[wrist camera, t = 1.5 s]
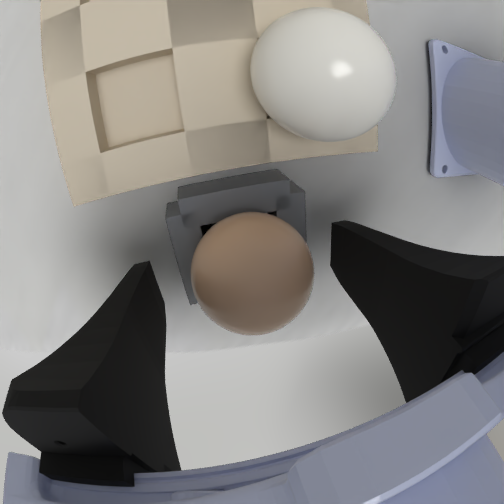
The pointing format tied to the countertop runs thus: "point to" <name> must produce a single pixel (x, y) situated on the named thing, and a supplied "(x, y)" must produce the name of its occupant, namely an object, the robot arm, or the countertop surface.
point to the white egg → (323, 74)
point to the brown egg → (252, 273)
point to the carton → (165, 91)
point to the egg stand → (229, 210)
